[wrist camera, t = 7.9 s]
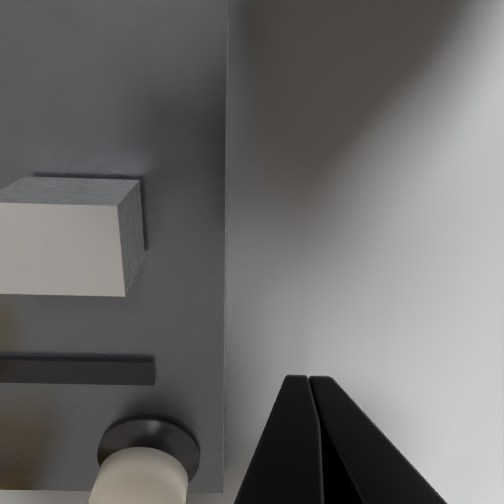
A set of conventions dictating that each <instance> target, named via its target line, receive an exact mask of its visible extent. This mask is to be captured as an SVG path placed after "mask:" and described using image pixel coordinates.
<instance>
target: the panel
mask: <svg viewBox="0 0 504 504" xmlns="http://www.w3.org/2000/svg"><path fill="white" fill-rule="evenodd" d="M228 49H229V0H0V190H1V189H3V188H5V187H6V186H8V185H10V184H12V183H14V182H16V181H18V180H19V179H21V178H23V177H53V178H87V179H122V180H140V192H141V206H142V221H143V235H144V250H145V259H144V261H143V263H142V265H141V267H140V269H139V271H138V273H137V275H136V277H135V279H134V281H133V282H132V284H131V286H130V288H129V290H128V292H127V294H126V296H125V297H119V296H76V295H33V294H0V489H2V490H76V491H92V489H93V486H94V484H95V481H96V478H97V475H98V472H99V470H100V467H101V465H102V463H103V462H104V461H105V460H106V459H107V458H108V457H109V456H110V455H112V454H113V453H115V452H117V451H120V450H122V449H126V448H132V447H148V448H154V449H157V450H160V451H163V452H165V453H167V454H169V455H171V456H173V457H174V458H175V459H177V460H178V461H179V462H180V463H181V464H182V466H183V467H184V469H185V471H186V473H187V476H188V488H187V492H223V477H224V424H225V331H226V237H227V143H228Z"/></svg>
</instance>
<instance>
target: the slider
mask: <svg viewBox="0 0 504 504" xmlns="http://www.w3.org/2000/svg"><path fill="white" fill-rule="evenodd" d="M144 259H145V250H144V235H143V221H142V206H141V192H140V180H122V179H87V178H53V177H23V178H21V179H19V180H18V181H16V182H14V183H12V184H10V185H8V186H6V187H5V188H3V189H1V190H0V294H33V295H76V296H119V297H125V296H126V294H127V292H128V290H129V288H130V286H131V284H132V282H133V281H134V279H135V277H136V275H137V273H138V271H139V269H140V267H141V265H142V263H143V261H144Z"/></svg>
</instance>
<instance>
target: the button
mask: <svg viewBox="0 0 504 504" xmlns="http://www.w3.org/2000/svg"><path fill="white" fill-rule="evenodd" d="M187 488H188V476H187V473H186V471H185V469H184V467H183V466H182V464H181V463H180V462H179V461H178V460H177V459H175V458H174V457H173V456H171V455H169V454H167V453H165V452H163V451H160V450H157V449H154V448H148V447H132V448H126V449H122V450H120V451H117V452H115V453H113V454H112V455H110V456H109V457H108V458H107V459H106V460H105V461H104V462H103V463H102V465H101V467H100V470H99V472H98V475H97V478H96V481H95V484H94V486H93V489H92V492H91V495H90V498H89V501H88V504H185V502H186V495H187Z"/></svg>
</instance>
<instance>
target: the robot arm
mask: <svg viewBox="0 0 504 504" xmlns="http://www.w3.org/2000/svg"><path fill="white" fill-rule="evenodd" d="M234 504H447V503H446V502H445V500H444V499H443V498H442V497H441V496H440V495H439V494H438V493H437V492H436V491H435V490H434V488H433V487H432V486H431V485H430V484H429V483H428V482H427V481H426V480H425V479H424V478H423V476H422V475H421V474H420V473H419V472H418V471H417V470H416V469H415V468H414V467H413V465H412V464H411V463H410V462H409V461H408V460H407V459H406V458H405V457H404V456H403V455H402V453H401V452H400V451H399V450H398V449H397V448H396V447H395V446H394V445H393V444H392V443H391V441H390V440H389V439H388V438H387V437H386V436H385V435H384V434H383V433H382V432H381V431H380V429H379V428H378V427H377V426H376V425H375V424H374V423H373V422H372V421H371V420H370V418H369V417H368V416H367V415H366V414H365V413H364V412H363V411H362V410H361V409H360V408H359V406H358V405H357V404H356V403H355V402H354V401H353V400H352V399H351V398H350V397H349V396H348V394H347V393H346V392H345V391H344V390H343V389H342V388H341V387H340V386H339V385H338V384H337V382H336V381H335V380H334V379H333V378H331V377H329V376H310V377H309V378H308V377H307V376H305V375H287V376H286V377H285V379H284V381H283V384H282V386H281V389H280V391H279V393H278V396H277V398H276V401H275V403H274V406H273V408H272V411H271V413H270V416H269V418H268V421H267V423H266V426H265V428H264V430H263V433H262V435H261V438H260V440H259V443H258V445H257V448H256V450H255V453H254V455H253V458H252V460H251V463H250V465H249V467H248V470H247V472H246V475H245V477H244V480H243V482H242V485H241V487H240V490H239V492H238V495H237V497H236V499H235V502H234Z"/></svg>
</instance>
